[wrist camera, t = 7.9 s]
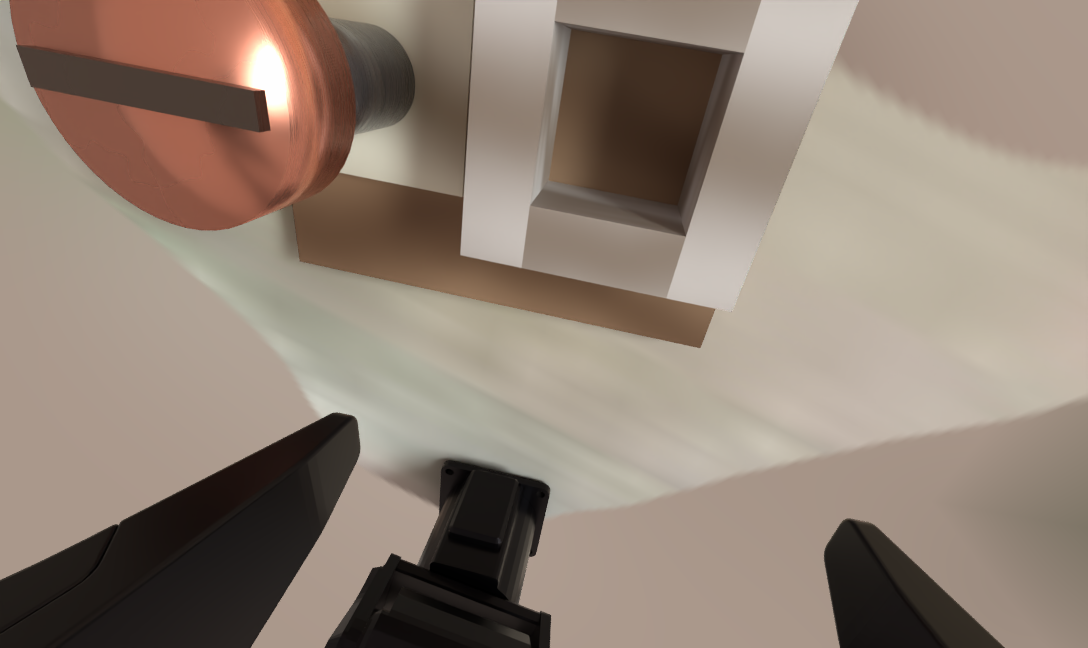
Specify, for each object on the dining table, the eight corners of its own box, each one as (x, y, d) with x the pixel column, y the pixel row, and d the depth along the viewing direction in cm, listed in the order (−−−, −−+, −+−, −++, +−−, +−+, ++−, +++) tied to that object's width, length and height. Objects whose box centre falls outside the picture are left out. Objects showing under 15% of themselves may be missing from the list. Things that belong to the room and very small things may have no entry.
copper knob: (452, -7, 14) (251, -85, 7) (445, 175, 17) (295, 259, 10) (285, -35, 15) (-71, -137, 7) (305, 147, 18) (59, 206, 10)
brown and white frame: (696, 330, 21) (711, 399, 17) (319, 249, 22) (243, 294, 18) (879, -163, 13) (1001, -277, 8) (267, -242, 14) (105, -376, 10)
